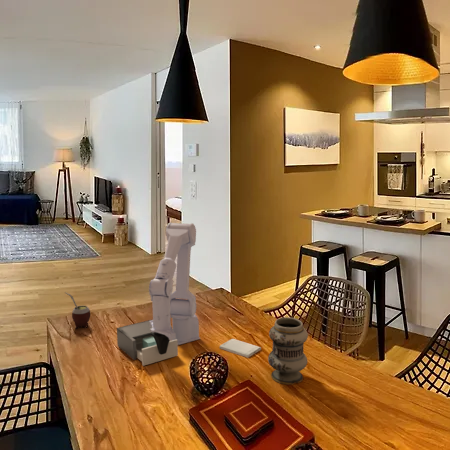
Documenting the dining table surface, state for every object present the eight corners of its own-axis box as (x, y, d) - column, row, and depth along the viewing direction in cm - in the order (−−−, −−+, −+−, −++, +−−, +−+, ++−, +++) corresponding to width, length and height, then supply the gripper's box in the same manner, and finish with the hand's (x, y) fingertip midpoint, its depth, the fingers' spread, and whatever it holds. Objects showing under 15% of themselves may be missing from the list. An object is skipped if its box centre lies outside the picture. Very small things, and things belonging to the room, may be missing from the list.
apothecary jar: (282, 390, 131) (283, 332, 128) (260, 372, 141) (261, 318, 138) (314, 380, 136) (316, 324, 133) (291, 364, 147) (292, 312, 144)
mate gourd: (94, 325, 181) (92, 290, 178) (79, 332, 174) (76, 295, 172) (82, 321, 185) (80, 287, 182) (66, 328, 178) (64, 292, 176)
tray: (155, 339, 166) (155, 324, 165) (177, 355, 153) (177, 340, 152) (122, 348, 159) (122, 333, 158) (143, 365, 145) (142, 349, 144)
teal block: (154, 347, 158) (154, 335, 157) (160, 352, 154) (159, 340, 153) (142, 351, 155) (142, 338, 154) (148, 355, 151) (148, 343, 151)
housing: (152, 336, 170) (151, 319, 168) (170, 349, 158) (169, 331, 157) (117, 345, 161) (116, 327, 160) (133, 359, 150) (132, 340, 149)
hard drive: (219, 345, 159) (248, 354, 151) (233, 338, 165) (261, 346, 158) (219, 350, 159) (248, 359, 152) (233, 342, 166) (261, 350, 158)
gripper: (140, 310, 149) (142, 348, 151) (161, 323, 137) (162, 364, 139) (159, 306, 153) (160, 343, 155) (180, 318, 141) (181, 358, 143)
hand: (162, 353), depth 148 cm, fingers closed
